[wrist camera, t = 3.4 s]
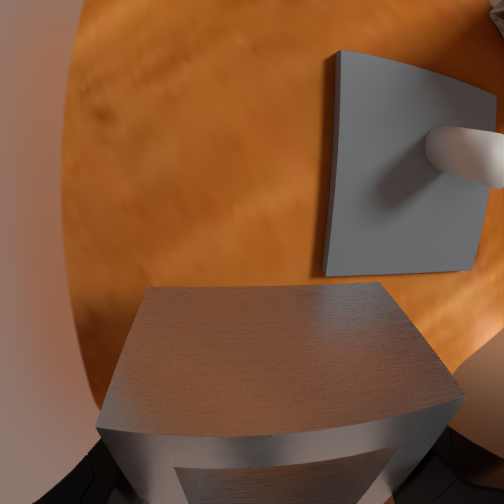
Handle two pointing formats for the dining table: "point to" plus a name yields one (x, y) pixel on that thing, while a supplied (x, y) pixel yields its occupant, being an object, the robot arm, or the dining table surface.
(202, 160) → the dining table surface
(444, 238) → the duct plate
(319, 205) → the dining table surface
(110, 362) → the dining table surface
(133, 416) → the collar
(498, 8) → the coffee box
